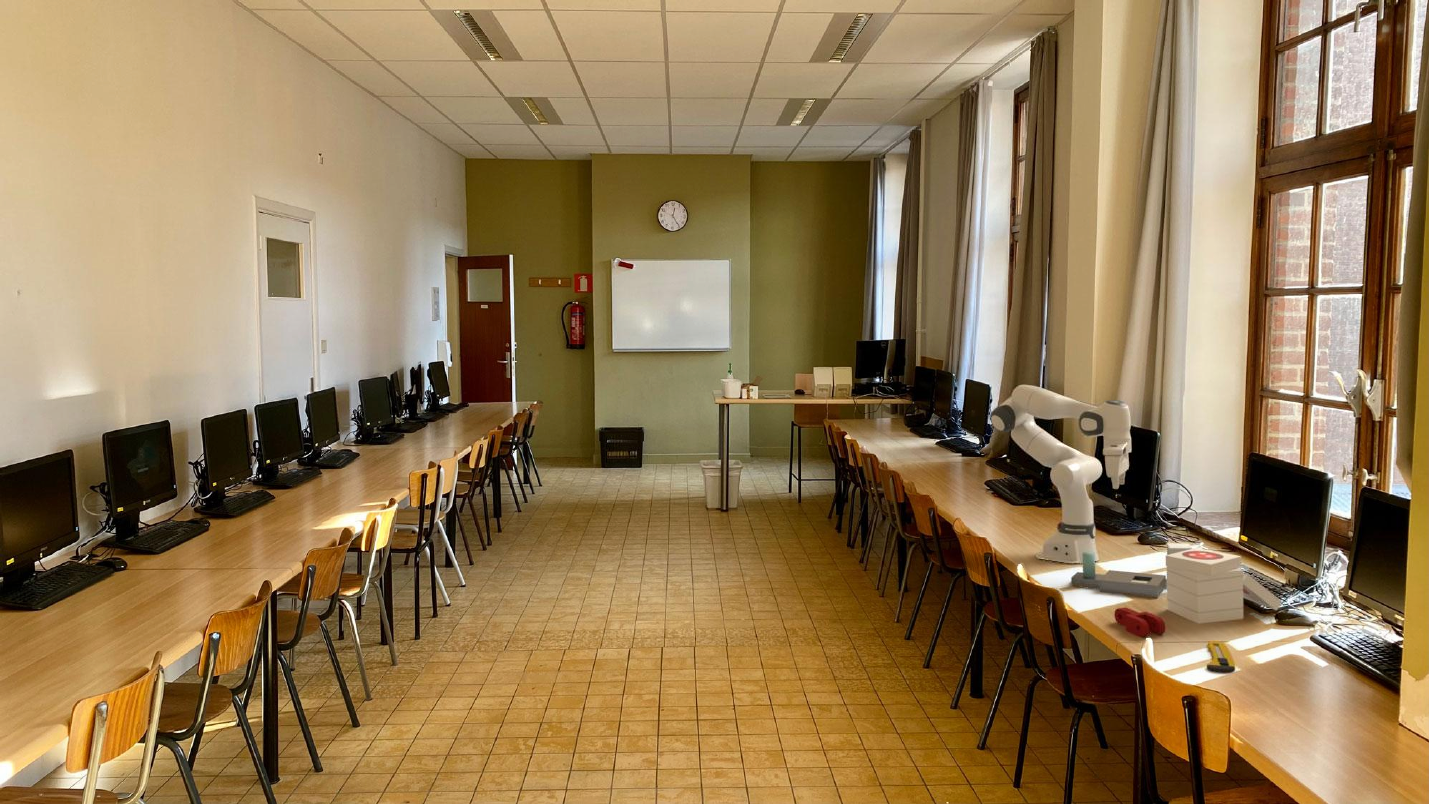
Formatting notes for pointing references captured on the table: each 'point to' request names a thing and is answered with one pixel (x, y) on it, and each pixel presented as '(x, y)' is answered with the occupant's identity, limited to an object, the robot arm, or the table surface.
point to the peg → (1089, 565)
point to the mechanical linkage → (1139, 622)
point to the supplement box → (1177, 547)
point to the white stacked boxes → (1211, 586)
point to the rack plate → (1123, 583)
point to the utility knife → (1220, 658)
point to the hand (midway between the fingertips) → (1118, 486)
